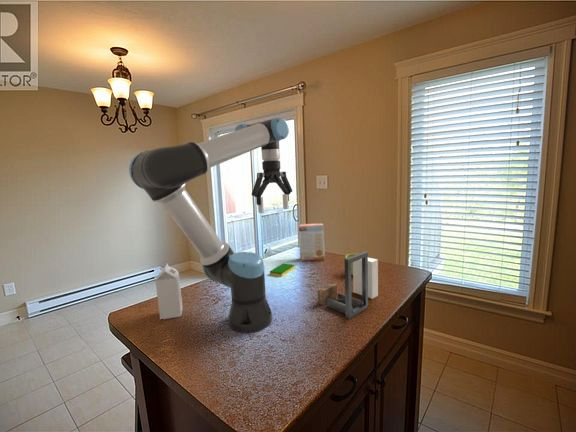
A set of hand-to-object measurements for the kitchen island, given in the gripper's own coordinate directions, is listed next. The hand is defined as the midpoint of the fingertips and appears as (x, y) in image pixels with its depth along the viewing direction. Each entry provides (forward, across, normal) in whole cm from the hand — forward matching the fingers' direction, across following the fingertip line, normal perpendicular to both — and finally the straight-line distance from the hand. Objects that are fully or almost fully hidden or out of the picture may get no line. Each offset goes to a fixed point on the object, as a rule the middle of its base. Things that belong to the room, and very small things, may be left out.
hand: (273, 210), depth 120 cm
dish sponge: (+35, -15, -15) cm, 41 cm away
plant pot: (+35, -37, +15) cm, 53 cm away
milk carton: (+35, +43, -11) cm, 56 cm away
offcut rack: (+35, -5, +33) cm, 48 cm away
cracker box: (+35, -40, -17) cm, 56 cm away
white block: (+35, -20, +32) cm, 51 cm away
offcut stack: (+35, -5, +24) cm, 43 cm away
